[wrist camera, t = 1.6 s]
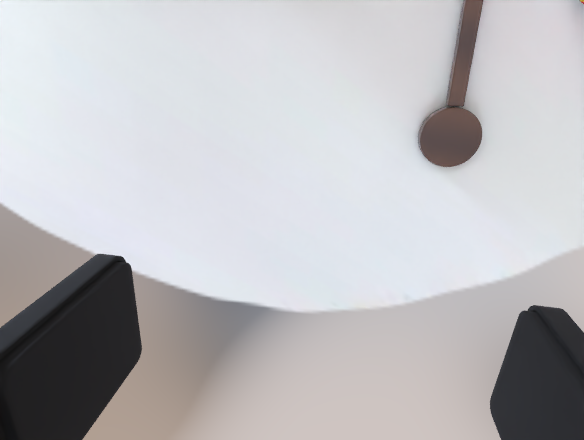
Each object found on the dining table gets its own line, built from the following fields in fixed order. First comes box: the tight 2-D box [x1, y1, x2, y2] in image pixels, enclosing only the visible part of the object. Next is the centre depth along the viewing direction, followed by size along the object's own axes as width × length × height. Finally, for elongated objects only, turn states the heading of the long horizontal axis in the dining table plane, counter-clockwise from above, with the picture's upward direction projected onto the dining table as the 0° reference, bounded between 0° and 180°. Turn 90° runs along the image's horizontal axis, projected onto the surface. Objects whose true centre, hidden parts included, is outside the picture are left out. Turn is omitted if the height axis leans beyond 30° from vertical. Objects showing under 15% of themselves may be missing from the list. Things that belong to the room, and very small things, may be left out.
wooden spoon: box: [418, 0, 483, 167], centre depth 30 cm, size 15×5×1 cm, turn 179°
